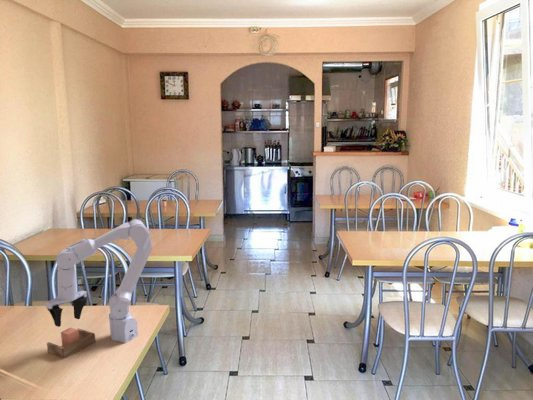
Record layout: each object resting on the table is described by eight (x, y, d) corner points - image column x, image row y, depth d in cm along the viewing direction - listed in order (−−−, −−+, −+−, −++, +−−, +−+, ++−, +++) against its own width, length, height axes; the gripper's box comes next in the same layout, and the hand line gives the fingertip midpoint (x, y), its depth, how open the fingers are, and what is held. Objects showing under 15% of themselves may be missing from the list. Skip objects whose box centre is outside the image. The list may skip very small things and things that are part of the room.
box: (95, 343, 161) (94, 333, 160) (64, 360, 150) (63, 349, 150) (79, 338, 165) (78, 328, 165) (48, 354, 155) (46, 343, 154)
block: (79, 345, 159) (78, 329, 158) (69, 350, 155) (68, 334, 154) (72, 343, 161) (70, 327, 160) (62, 348, 157) (60, 332, 156)
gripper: (77, 277, 163) (78, 312, 165) (39, 287, 151) (41, 326, 153) (90, 280, 160) (91, 317, 162) (53, 292, 147) (54, 331, 149)
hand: (67, 322), depth 157 cm, fingers open, 7 cm apart
